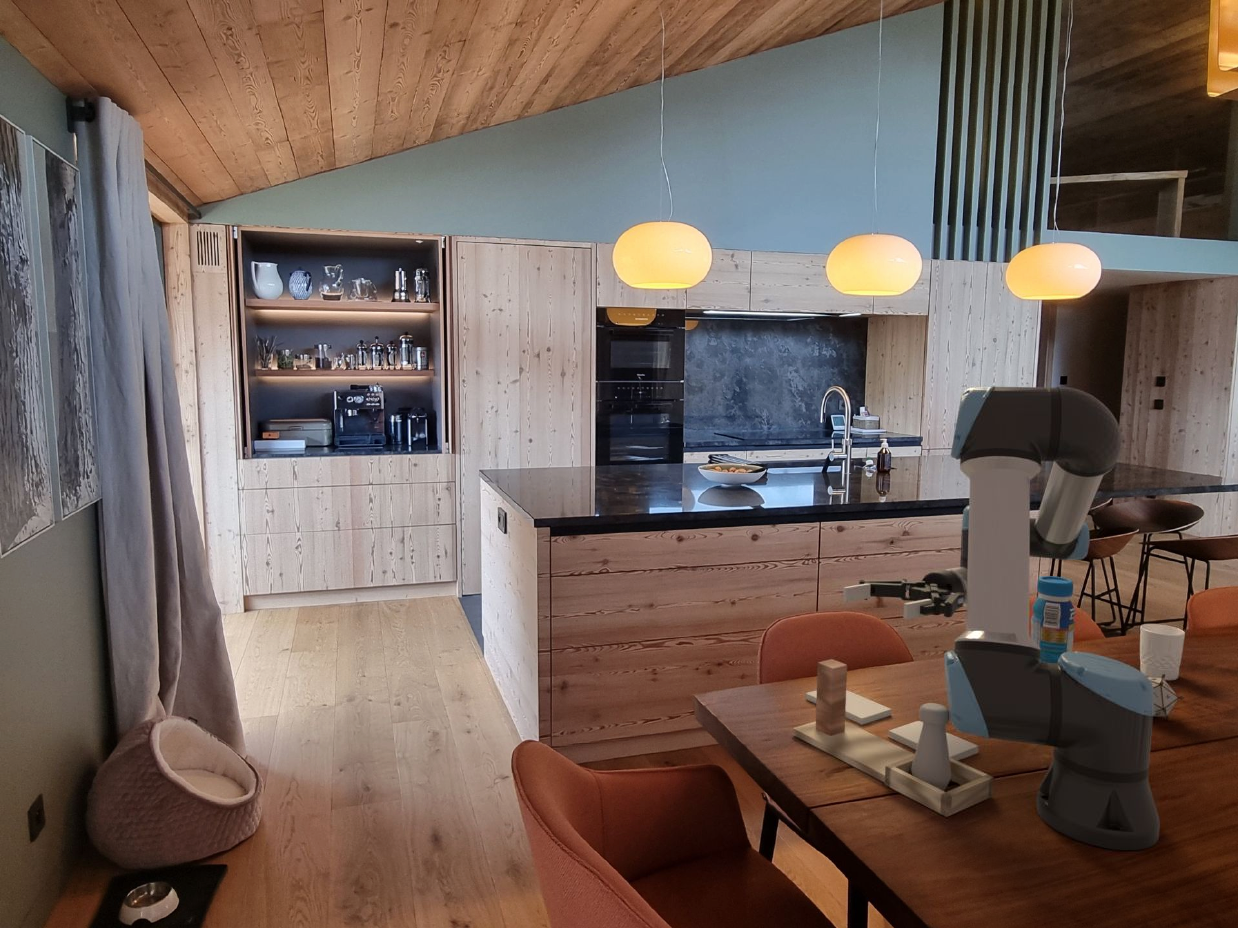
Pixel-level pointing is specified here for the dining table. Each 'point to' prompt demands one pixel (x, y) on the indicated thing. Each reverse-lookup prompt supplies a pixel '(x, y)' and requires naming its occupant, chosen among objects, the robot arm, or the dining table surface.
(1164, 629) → the white cup
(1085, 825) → the robot arm
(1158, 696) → the game die
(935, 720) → the salt shaker
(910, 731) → the broken strip
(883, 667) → the dining table surface
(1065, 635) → the beverage bottle
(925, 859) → the dining table surface
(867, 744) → the wooden tray with post
